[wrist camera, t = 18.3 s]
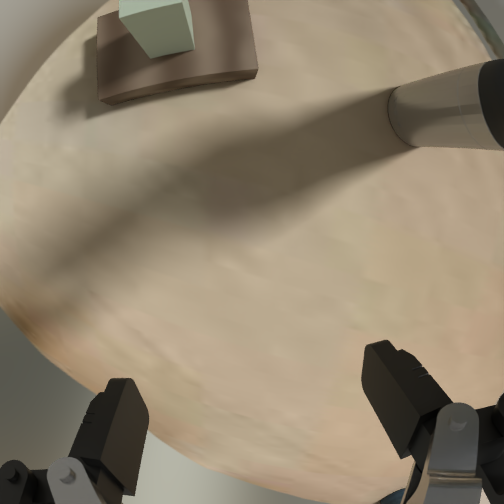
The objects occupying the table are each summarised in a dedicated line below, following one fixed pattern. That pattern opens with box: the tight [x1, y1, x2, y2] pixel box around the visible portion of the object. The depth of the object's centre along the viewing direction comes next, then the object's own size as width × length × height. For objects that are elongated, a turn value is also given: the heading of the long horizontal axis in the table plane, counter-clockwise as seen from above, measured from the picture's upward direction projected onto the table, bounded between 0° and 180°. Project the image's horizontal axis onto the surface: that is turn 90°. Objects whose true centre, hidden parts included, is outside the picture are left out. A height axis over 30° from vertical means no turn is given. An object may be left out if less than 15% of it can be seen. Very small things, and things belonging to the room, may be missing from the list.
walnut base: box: [97, 0, 258, 105], centre depth 27 cm, size 18×12×4 cm, turn 97°
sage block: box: [119, 0, 195, 59], centre depth 19 cm, size 5×5×11 cm
